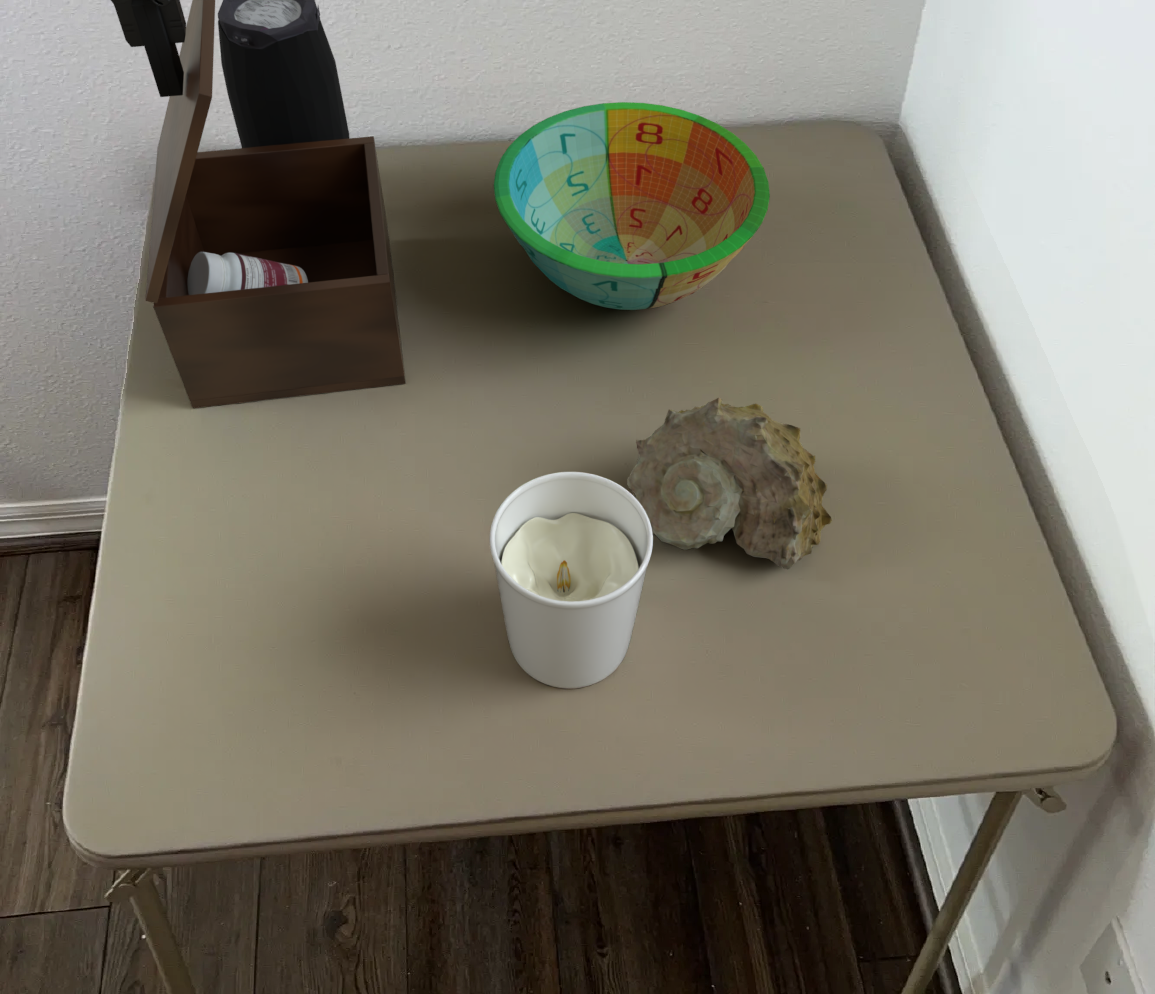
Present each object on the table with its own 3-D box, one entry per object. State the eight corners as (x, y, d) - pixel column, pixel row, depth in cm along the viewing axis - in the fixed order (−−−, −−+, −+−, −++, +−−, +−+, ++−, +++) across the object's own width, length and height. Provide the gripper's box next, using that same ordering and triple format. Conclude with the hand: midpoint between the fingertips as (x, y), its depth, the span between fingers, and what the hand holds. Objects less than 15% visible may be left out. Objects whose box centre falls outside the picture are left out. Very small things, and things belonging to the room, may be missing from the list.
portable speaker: (262, 177, 107) (212, -24, 91) (362, 173, 107) (329, -27, 92) (254, 237, 101) (199, 34, 86) (359, 232, 102) (323, 30, 86)
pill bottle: (280, 325, 95) (182, 309, 89) (285, 268, 95) (187, 249, 89) (307, 323, 91) (207, 307, 86) (312, 264, 91) (213, 244, 85)
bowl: (498, 195, 106) (494, 101, 98) (736, 192, 106) (751, 98, 98) (498, 370, 92) (492, 277, 84) (770, 365, 93) (789, 272, 85)
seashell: (631, 464, 88) (623, 378, 80) (820, 459, 87) (832, 371, 79) (629, 586, 82) (621, 506, 73) (834, 583, 80) (849, 501, 72)
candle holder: (485, 590, 79) (475, 486, 70) (619, 563, 81) (628, 458, 71) (513, 714, 74) (507, 619, 64) (658, 683, 75) (673, 586, 66)
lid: (217, -51, 79) (205, -55, 79) (212, 96, 68) (198, 93, 68) (167, 151, 91) (157, 148, 90) (157, 303, 80) (145, 301, 80)
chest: (389, 239, 102) (373, 135, 93) (405, 383, 91) (389, 282, 82) (198, 259, 100) (164, 155, 91) (192, 408, 89) (153, 307, 80)
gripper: (-99, -291, 55) (68, 126, 74) (174, -304, 57) (270, 108, 75) (-74, -345, 60) (77, 62, 78) (179, -356, 61) (268, 46, 80)
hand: (172, 84), depth 77 cm, fingers closed
